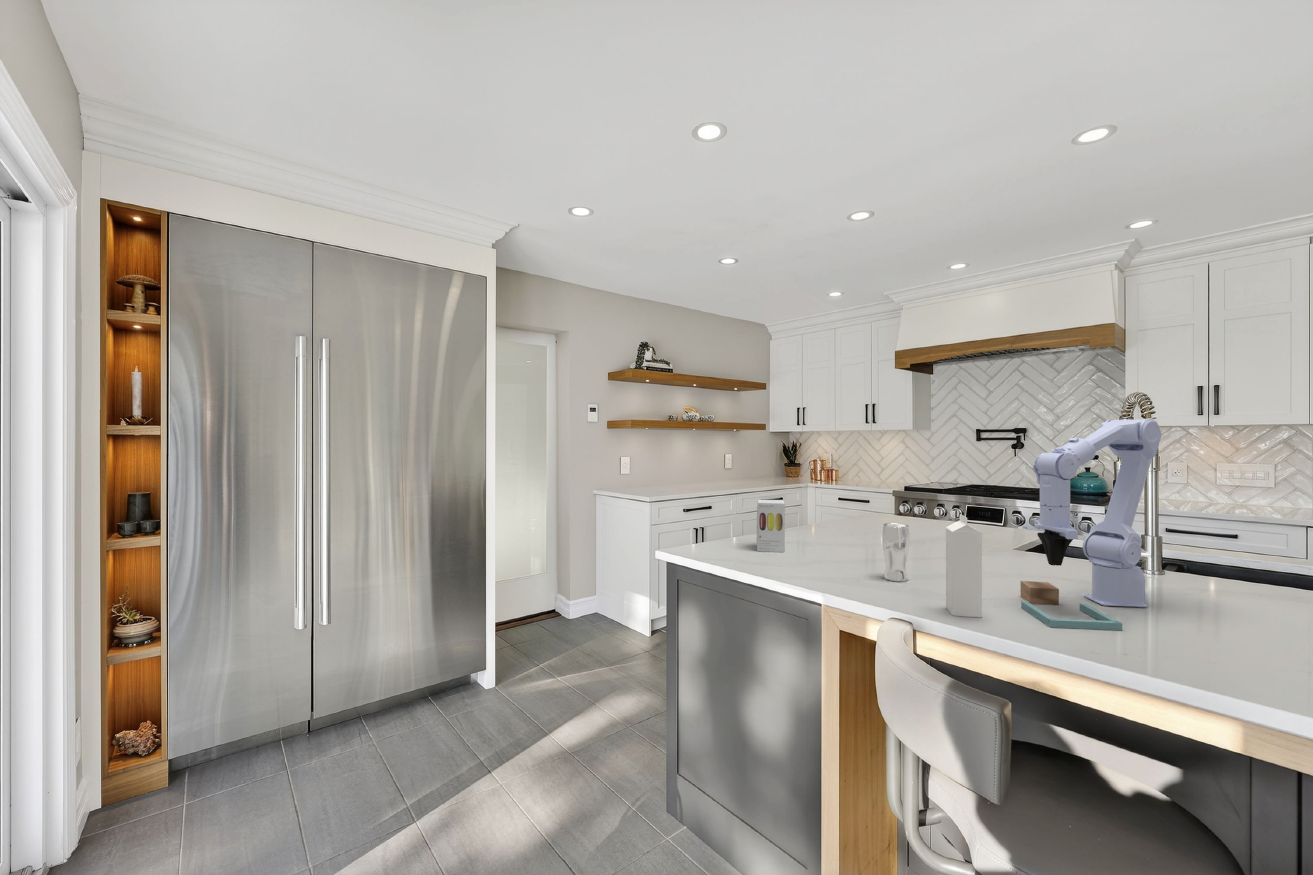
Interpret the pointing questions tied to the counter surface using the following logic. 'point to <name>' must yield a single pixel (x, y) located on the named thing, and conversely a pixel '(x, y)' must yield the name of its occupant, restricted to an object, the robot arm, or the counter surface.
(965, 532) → the milk
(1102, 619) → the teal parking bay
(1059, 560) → the robot arm
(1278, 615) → the counter surface
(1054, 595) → the walnut block
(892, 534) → the beer glass
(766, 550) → the supplement box
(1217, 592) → the counter surface
